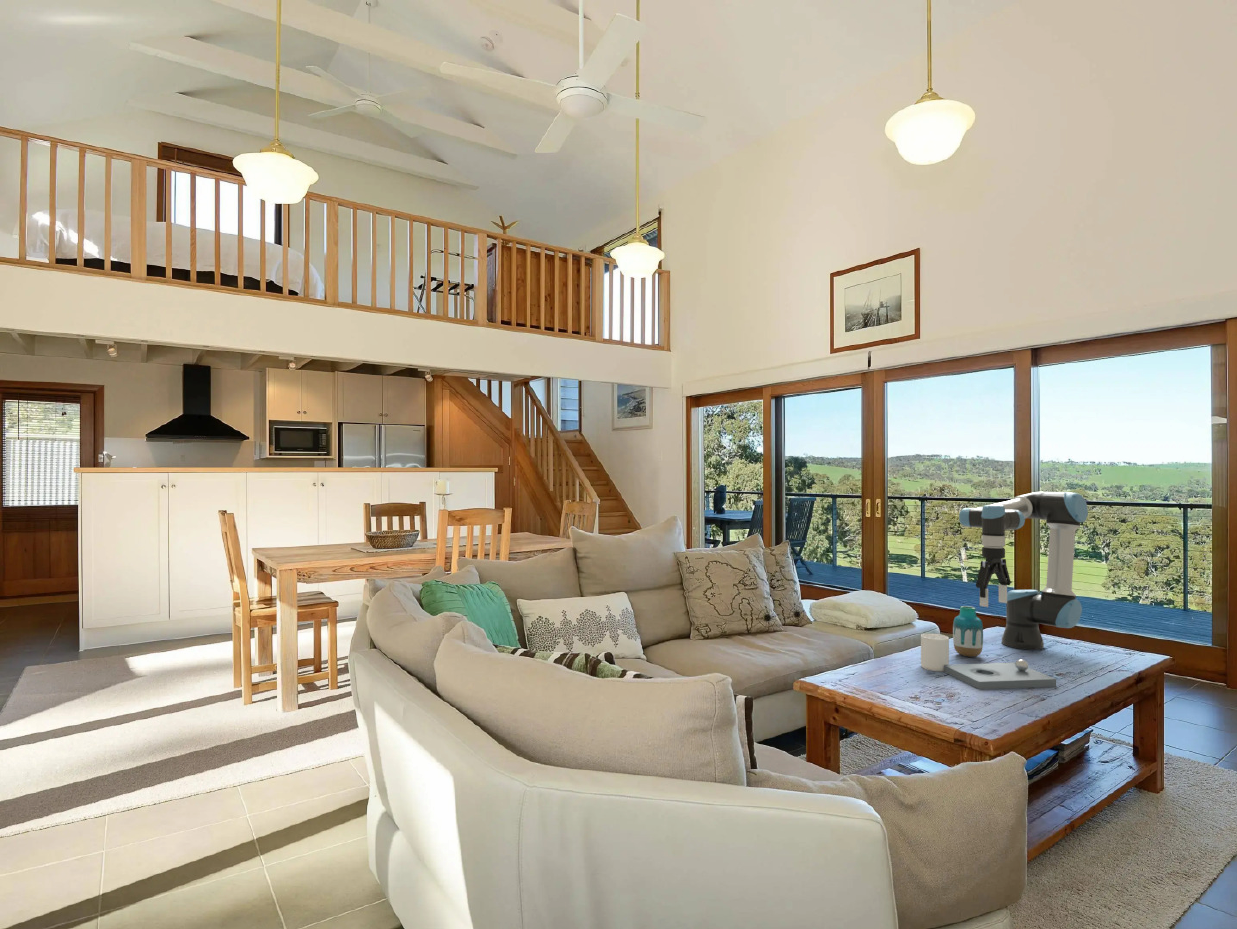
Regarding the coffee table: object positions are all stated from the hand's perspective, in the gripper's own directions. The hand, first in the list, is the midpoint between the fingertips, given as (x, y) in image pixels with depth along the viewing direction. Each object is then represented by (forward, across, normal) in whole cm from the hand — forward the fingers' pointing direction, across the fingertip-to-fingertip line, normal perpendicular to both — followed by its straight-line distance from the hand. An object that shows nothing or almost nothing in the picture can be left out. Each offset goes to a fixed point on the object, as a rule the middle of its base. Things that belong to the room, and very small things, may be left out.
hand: (993, 604), depth 252 cm
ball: (+19, +4, +12) cm, 23 cm away
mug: (+24, +17, -14) cm, 33 cm away
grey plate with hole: (+24, +12, +7) cm, 27 cm away
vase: (+24, -9, -14) cm, 29 cm away
